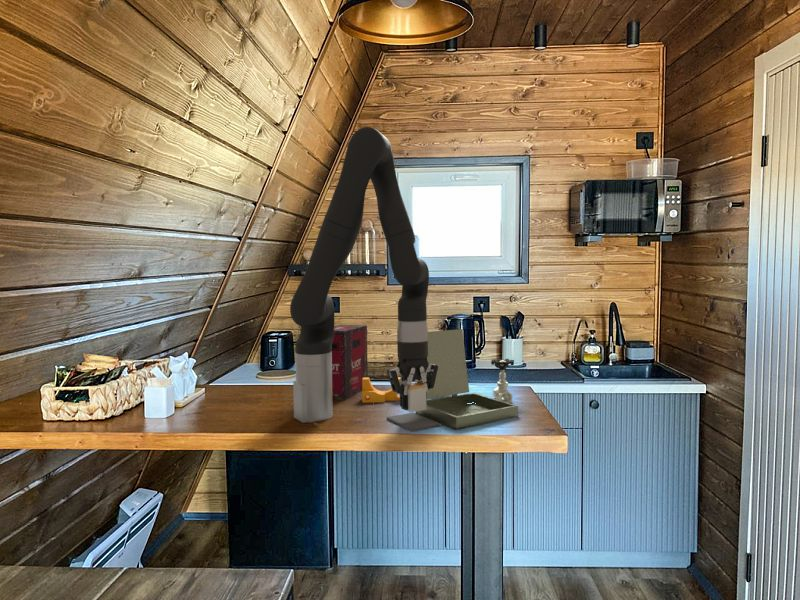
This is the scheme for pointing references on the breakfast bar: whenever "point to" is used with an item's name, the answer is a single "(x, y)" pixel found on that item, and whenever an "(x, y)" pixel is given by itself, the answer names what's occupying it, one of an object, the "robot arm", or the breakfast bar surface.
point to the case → (467, 410)
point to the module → (416, 397)
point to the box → (348, 360)
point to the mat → (413, 421)
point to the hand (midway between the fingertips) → (413, 407)
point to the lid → (447, 363)
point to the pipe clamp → (376, 393)
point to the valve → (502, 381)
